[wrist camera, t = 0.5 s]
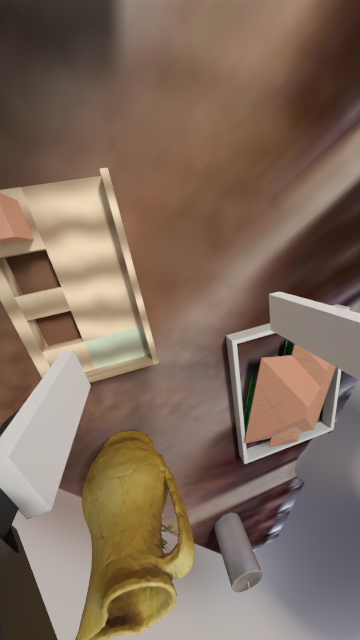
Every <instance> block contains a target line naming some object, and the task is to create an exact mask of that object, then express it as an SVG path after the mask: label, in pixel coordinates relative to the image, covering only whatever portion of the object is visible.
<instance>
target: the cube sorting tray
mask: <svg viewBox="0 0 360 640" xmlns="http://www.w3.org/2000/svg"><path fill="white" fill-rule="evenodd" d="M100 172H101V175H102V176H97V177H90V178H83V179H76V180H68V181H61V182H54V183H47V184H40V185H32V186H25V187H17V188H10V189H3V190H0V193H2V194H4V195H6V196H8V197H11V198H13V199H15V200H17V201H18V203H19V205H20V207H21V210H22V212H23V214H24V217H25V219H26V221H27V224H28V226H29V229H30V231H31V233H32V236H33V238H34V239H33V240H27V241H21V242H16V243H10V244H4V245H0V300H1V302H2V304H3V306H4V308H5V310H6V311H7V313H8V315H9V317H10V319H11V321H12V323H13V325H14V326H15V328H16V330H17V332H18V334H19V336H20V338H21V339H22V341H23V343H24V345H25V347H26V349H27V351H28V353H29V354H30V356H31V358H32V360H33V362H34V364H35V366H36V368H37V369H38V371H39V373H40V375H41V377H42V378H43V377H44V375H45V374H46V373H47V371H48V370H49V368H50V367H51V366H52V364H53V363H54V362H55V360H56V359H57V357H58V356H59V355H60V353H64V352H67V351H71V350H74V352H75V354H76V356H77V358H78V360H79V362H80V364H81V367H82V369H83V371H84V373H85V375H86V377H87V379H88V381H89V383H91V382H94V381H98V380H101V379H105V378H108V377H112V376H115V375H119V374H122V373H126V372H129V371H133V370H136V369H140V368H143V367H147V366H150V365H154V364H157V363H159V361H158V357H157V353H156V349H155V345H154V341H153V337H152V333H151V330H150V326H149V322H148V318H147V314H146V311H145V307H144V303H143V299H142V295H141V292H140V288H139V284H138V280H137V276H136V273H135V269H134V265H133V261H132V257H131V254H130V250H129V246H128V242H127V238H126V235H125V231H124V227H123V223H122V219H121V216H120V212H119V208H118V204H117V200H116V197H115V193H114V189H113V185H112V181H111V178H110V175H109V171H108V168H102V169H100ZM44 250H46V251H47V253H48V256H49V258H50V261H51V263H52V266H53V268H54V270H55V273H56V275H57V278H58V280H59V283H60V285H61V286H60V287H55V288H51V289H46V290H41V291H37V292H32V293H27V294H23V293H22V291H21V289H20V287H19V285H18V283H17V281H16V279H15V277H14V275H13V273H12V271H11V269H10V267H9V265H8V263H7V261H6V259H5V258H6V257H11V256H17V255H22V254H28V253H33V252H38V251H44ZM67 311H71V312H72V314H73V317H74V319H75V322H76V324H77V327H78V329H79V332H80V334H81V337H82V338H78V339H74V340H70V341H66V342H62V343H58V344H54V345H50V346H48V345H47V343H46V341H45V339H44V337H43V335H42V333H41V331H40V328H39V326H38V324H37V322H36V320H35V319H37V318H41V317H45V316H50V315H54V314H58V313H63V312H67Z"/></svg>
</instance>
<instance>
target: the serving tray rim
mask: <svg viewBox="0 0 360 640" xmlns="http://www.w3.org/2000/svg"><path fill="white" fill-rule="evenodd" d="M333 306H334V307H338V308H342V309H345V310H349V308H350V307H346V306H342V305H338V304H337V305H333ZM273 333H275V332H273V331H272V330H271V328H270V323H269V324H266V325H262V326H258V327H255V328H251V329H248V330H244V331H241V332H237V333H233V334H230V335H226V341H227V350H228V359H229V367H230V376H231V385H232V394H233V403H234V412H235V421H236V430H237V439H238V448H239V455H240V457H241V459H242V460H243V462H244V464H246V463H249V462H252V461H254V460H257V459H259V458H262V457H264V456H267V455H270V454H272V453H275V452H277V451H280V450H282V449H285V448H288V447H290V446H293V445H295V444H298V443H300V442H303V441H306V440H308V439H311V438H313V437H316V436H318V435H321V434H324V433H326V432H329V431H331V430H333V428H334V421H335V413H336V406H337V398H338V391H339V383H340V376H341V370H340V369H339V368H337V367H336V368H335V371H334V374H333V377H332V380H331V383H330V386H329V389H328V392H327V394H326V397H325V400H324V407H323V416H322V421H320V422H317V424H316V427H315V430H311V431H306V432H301V433H300V436H299V440H298V442H294V443H289V444H284V445H279V446H275V447H270V448H269V444H270V440H269V441H267V442H264V443H262V444H259V445H256V446H254V447H251V448H248V449H246V443H244V442H245V428H244V417H243V406H242V395H241V384H240V374H239V363H238V352H237V344H238V343H242V342H245V341H249V340H252V339H256V338H259V337H263V336H266V335H269V334H273Z"/></svg>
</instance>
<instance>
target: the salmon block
mask: <svg viewBox="0 0 360 640" xmlns="http://www.w3.org/2000/svg"><path fill="white" fill-rule="evenodd" d="M33 239H34V238H33V236H32V233H31V231H30V229H29V226H28V224H27V221H26V219H25V217H24V214H23V212H22V210H21V207H20V205H19V203H18V201H17V200H15V199H13V198H11V197H8V196H6V195H4V194H2V193H0V245H4V244H10V243H16V242H21V241H27V240H33Z"/></svg>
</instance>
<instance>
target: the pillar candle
mask: <svg viewBox="0 0 360 640" xmlns="http://www.w3.org/2000/svg"><path fill="white" fill-rule="evenodd" d="M214 529H215V533H216V537H217V540H218V544H219V547H220V550H221V553H222V557H223V560H224V563H225V566H226V569H227V573H228V576H229V580H230V583H231V587H232V589H233V591H235V592H242V591H245V590H248V589H250V588H252V587H253V586H254V585H256V584H257V583H258V582H259V581H260V579H261V578H262V572H261V569H260V567H259V564H258V562H257V559H256V557H255V555H254V552H253V550H252V547H251V545H250V542H249V540H248V537H247V535H246V532H245V530H244V527H243V525H242V522H241V520H240V517H239V515H238V514H237V513H228V514H225V515H223V516H222V517H221V518H220V519H219V520H217V521H216V522H215V524H214Z"/></svg>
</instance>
